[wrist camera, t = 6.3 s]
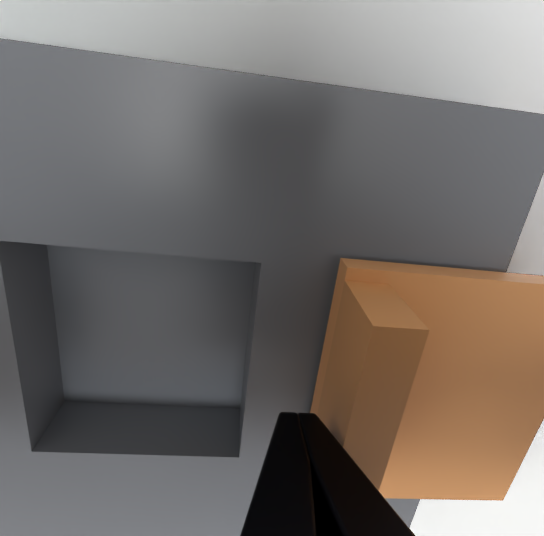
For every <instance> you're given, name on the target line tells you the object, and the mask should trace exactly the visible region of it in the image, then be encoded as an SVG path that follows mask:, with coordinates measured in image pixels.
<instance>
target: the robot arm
mask: <svg viewBox="0 0 544 536" xmlns="http://www.w3.org/2000/svg"><path fill="white" fill-rule="evenodd" d="M240 536H415V535H414V534H413V532H412V531H411V530H410V529H409V527H408V526H407V525H406V524H405V523H404V521H403V520H402V519H401V518H400V516H399V515H398V514H397V513H396V512H395V510H394V509H393V508H392V507H391V505H390V504H389V503H388V502H387V501H386V499H385V498H384V497H383V496H382V494H381V493H380V492H379V491H378V489H377V488H376V487H375V486H374V485H373V483H372V482H371V481H370V480H369V478H368V477H367V476H366V475H365V474H364V472H363V471H362V470H361V469H360V467H359V466H358V465H357V464H356V463H355V461H354V460H353V459H352V458H351V456H350V455H349V454H348V453H347V452H346V450H345V449H344V448H343V447H342V445H341V444H340V443H339V442H338V440H337V439H336V438H335V437H334V436H333V434H332V433H331V432H330V431H329V429H328V428H327V427H326V426H325V425H324V423H323V422H322V421H321V420H320V418H319V417H318V416H317V415H316V414H314V413H302V412H300V413H298V414H297V413H296V412H280V413H279V415H278V418H277V421H276V424H275V427H274V431H273V434H272V437H271V440H270V443H269V446H268V449H267V453H266V456H265V459H264V462H263V465H262V468H261V472H260V475H259V478H258V481H257V484H256V487H255V490H254V494H253V497H252V500H251V503H250V506H249V509H248V512H247V516H246V519H245V522H244V525H243V528H242V531H241V535H240Z"/></svg>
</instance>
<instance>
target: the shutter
mask: <svg viewBox="0 0 544 536" xmlns="http://www.w3.org/2000/svg"><path fill="white" fill-rule="evenodd" d="M310 413H314V414H316V415H317V416H318V417H319V418H320V420H321V421H322V422H323V423H324V425H325V426H326V427H327V428H328V429H329V431H330V432H331V433H332V434H333V436H334V437H335V438H336V439H337V440H338V442H339V443H340V444H341V445H342V447H343V448H344V449H345V450H346V452H347V453H348V454H349V455H350V456H351V458H352V459H353V460H354V461H355V463H356V464H357V465H358V466H359V467H360V469H361V470H362V471H363V472H364V474H365V475H366V476H367V477H368V478H369V480H370V481H371V482H372V483H373V485H374V486H375V487H376V488H377V489H378V491H379V492H380V493H381V494H382V496H383V497H384V498H393V499H452V500H503V499H504V497H505V495H506V493H507V491H508V489H509V487H510V485H511V483H512V481H513V479H514V477H515V475H516V473H517V471H518V469H519V467H520V465H521V463H522V461H523V459H524V457H525V455H526V453H527V451H528V449H529V447H530V445H531V443H532V441H533V439H534V437H535V435H536V433H537V431H538V429H539V427H540V425H541V423H542V421H543V419H544V276H540V275H529V274H518V273H506V272H495V271H484V270H472V269H461V268H450V267H438V266H427V265H416V264H404V263H393V262H382V261H370V260H359V259H348V258H340V263H339V268H338V273H337V279H336V284H335V289H334V294H333V299H332V304H331V309H330V314H329V319H328V324H327V329H326V334H325V340H324V345H323V350H322V355H321V360H320V365H319V370H318V375H317V380H316V385H315V390H314V395H313V401H312V406H311V411H310Z"/></svg>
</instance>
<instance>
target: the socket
mask: <svg viewBox="0 0 544 536" xmlns="http://www.w3.org/2000/svg"><path fill="white" fill-rule="evenodd" d="M543 173H544V114H538V113H531V112H524V111H517V110H509V109H502V108H495V107H488V106H481V105H474V104H466V103H459V102H452V101H445V100H438V99H431V98H423V97H416V96H409V95H402V94H395V93H388V92H380V91H373V90H366V89H359V88H352V87H345V86H337V85H330V84H323V83H316V82H309V81H302V80H294V79H287V78H280V77H273V76H266V75H259V74H251V73H244V72H237V71H230V70H223V69H215V68H208V67H201V66H194V65H187V64H180V63H172V62H165V61H158V60H151V59H144V58H137V57H129V56H122V55H115V54H108V53H101V52H94V51H86V50H79V49H72V48H65V47H58V46H51V45H43V44H36V43H29V42H22V41H15V40H8V39H0V536H240V535H241V531H242V528H243V525H244V522H245V519H246V516H247V512H248V509H249V506H250V503H251V500H252V497H253V494H254V490H255V487H256V484H257V481H258V478H259V475H260V472H261V468H262V465H263V462H264V459H265V456H266V453H267V449H268V446H269V443H270V440H271V437H272V434H273V431H274V427H275V424H276V421H277V418H278V415H279V413H280V412H296V413H297V414H298V413H300V412H302V413H310V411H311V406H312V401H313V395H314V390H315V385H316V380H317V375H318V370H319V365H320V360H321V355H322V350H323V345H324V340H325V334H326V329H327V324H328V319H329V314H330V309H331V304H332V299H333V294H334V289H335V284H336V279H337V273H338V268H339V263H340V258H348V259H359V260H370V261H382V262H393V263H404V264H416V265H427V266H438V267H450V268H461V269H472V270H484V271H495V272H506V271H507V268H508V265H509V263H510V260H511V257H512V255H513V252H514V250H515V247H516V244H517V242H518V239H519V236H520V234H521V231H522V228H523V226H524V223H525V220H526V218H527V215H528V213H529V210H530V207H531V205H532V202H533V199H534V197H535V194H536V191H537V189H538V186H539V183H540V181H541V178H542V176H543ZM385 499H386V501H387V502H388V503H389V504H390V505H391V507H392V508H393V509H394V510H395V512H396V513H397V514H398V515H399V516H400V518H401V519H402V520H403V521H404V523H405V524H406V525H407V526H408V527H410V525H411V522H412V519H413V517H414V514H415V511H416V509H417V506H418V503H419V501H420V499H393V498H385Z"/></svg>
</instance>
